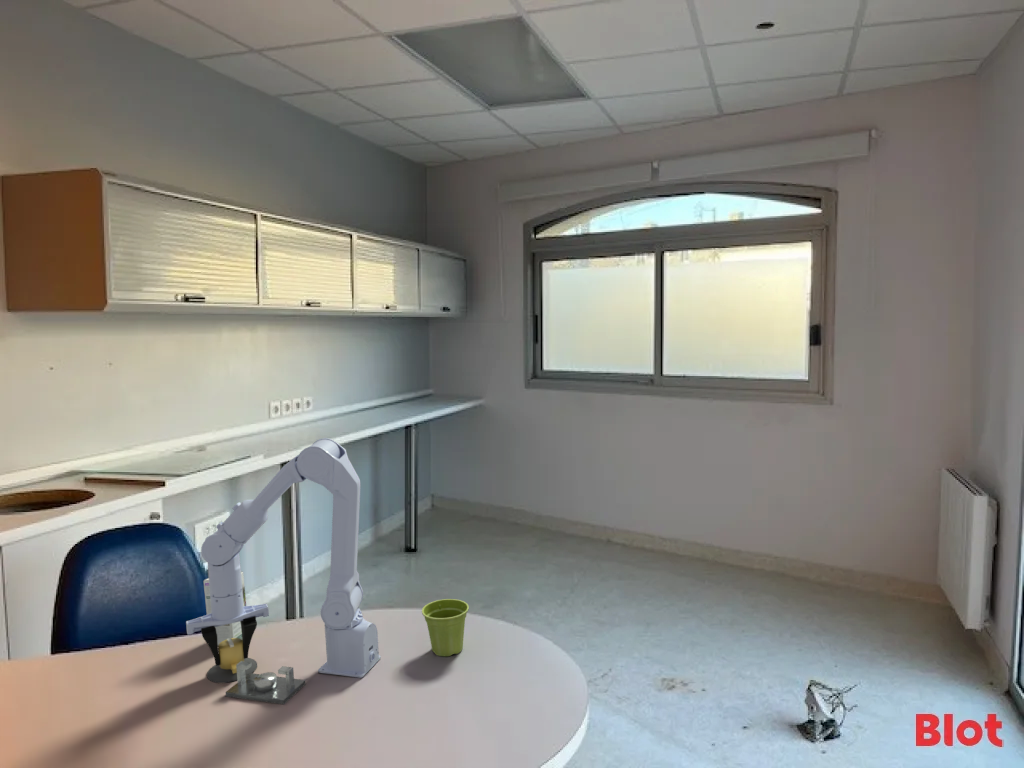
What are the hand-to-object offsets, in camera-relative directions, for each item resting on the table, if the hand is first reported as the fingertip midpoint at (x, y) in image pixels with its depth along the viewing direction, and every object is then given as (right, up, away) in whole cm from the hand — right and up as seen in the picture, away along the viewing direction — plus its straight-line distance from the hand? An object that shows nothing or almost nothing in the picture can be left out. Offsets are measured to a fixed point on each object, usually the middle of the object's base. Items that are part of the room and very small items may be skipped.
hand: (231, 659), depth 132 cm
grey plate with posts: (+9, -3, -7) cm, 12 cm away
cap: (0, -1, 0) cm, 1 cm away
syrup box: (-6, -1, +13) cm, 14 cm away
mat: (0, -2, 0) cm, 2 cm away
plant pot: (+41, 0, +6) cm, 41 cm away
